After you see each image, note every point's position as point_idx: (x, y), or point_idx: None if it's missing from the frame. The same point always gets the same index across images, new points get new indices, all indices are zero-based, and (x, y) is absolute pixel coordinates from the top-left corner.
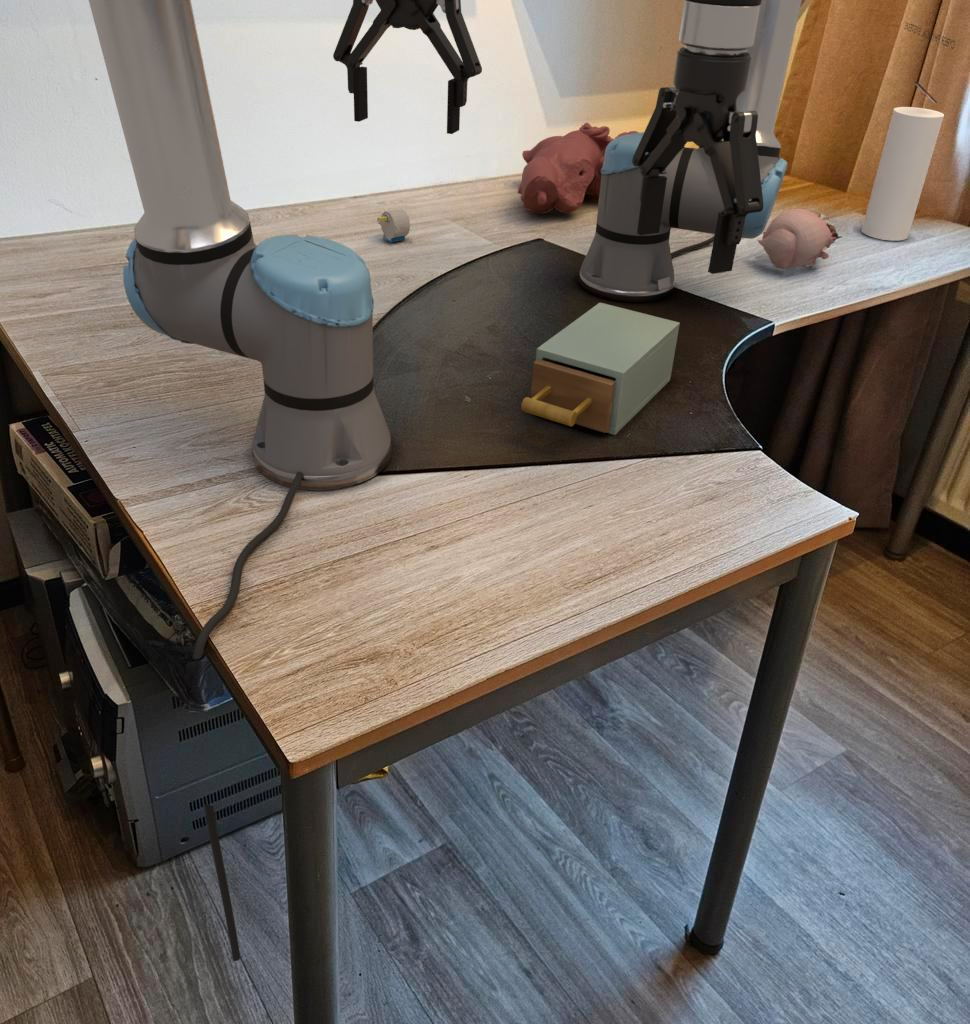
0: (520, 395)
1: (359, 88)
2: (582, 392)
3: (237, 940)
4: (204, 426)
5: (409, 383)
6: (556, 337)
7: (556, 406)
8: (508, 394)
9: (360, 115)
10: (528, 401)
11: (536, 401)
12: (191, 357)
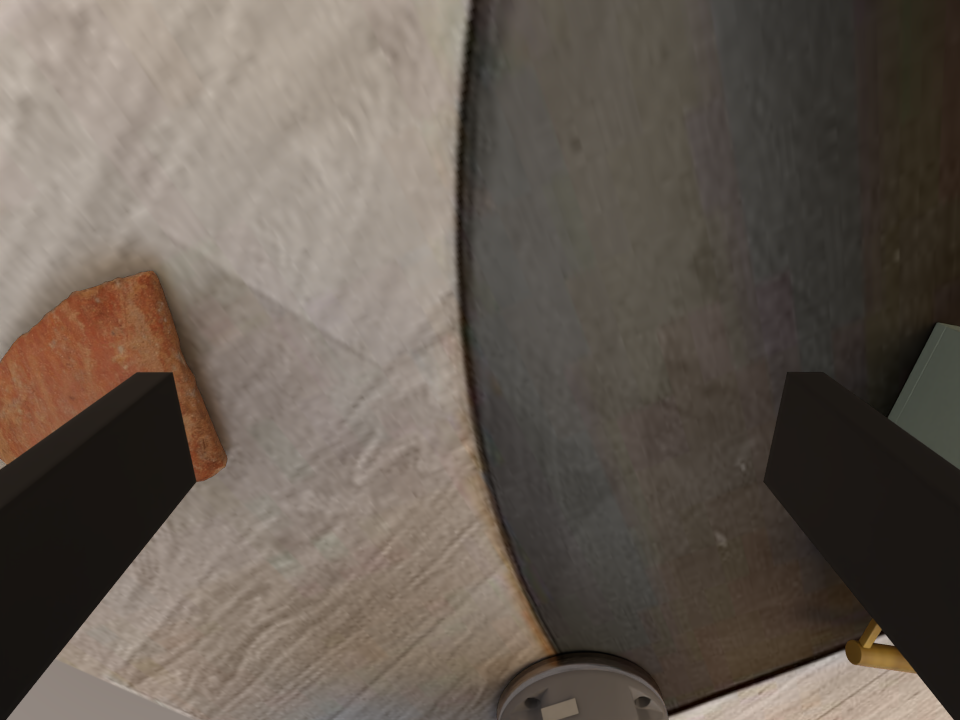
0: None
1: (71, 616)
2: None
3: None
4: (410, 708)
5: (616, 530)
6: None
7: (910, 668)
8: None
9: (176, 484)
10: (865, 665)
11: (878, 665)
12: (256, 581)
